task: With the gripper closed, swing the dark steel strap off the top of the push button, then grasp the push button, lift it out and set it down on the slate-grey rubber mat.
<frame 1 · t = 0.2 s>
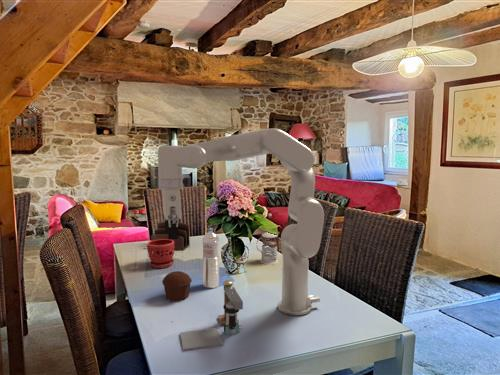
hand: (171, 235, 127), 31 cm above the table, tool pointing down, fingers open, 9 cm apart
rubber mat: (201, 339, 121), on the table
push button: (233, 332, 126), on the table
water bottle: (211, 286, 165), on the table
plant pot: (161, 265, 191), on the table
letter holder: (170, 247, 223), on the table
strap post: (228, 320, 133), on the table
steel strap: (232, 294, 125), point 12 cm above the table, hinge at 0.0°
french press: (267, 261, 198), on the table
muffin: (177, 297, 153), on the table
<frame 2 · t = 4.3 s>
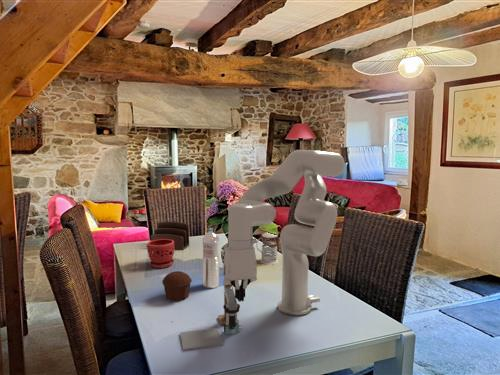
hand: (240, 299, 122), 12 cm above the table, tool pointing down, fingers closed
steel strap: (230, 294, 125), point 12 cm above the table, hinge at 7.3°, touching gripper
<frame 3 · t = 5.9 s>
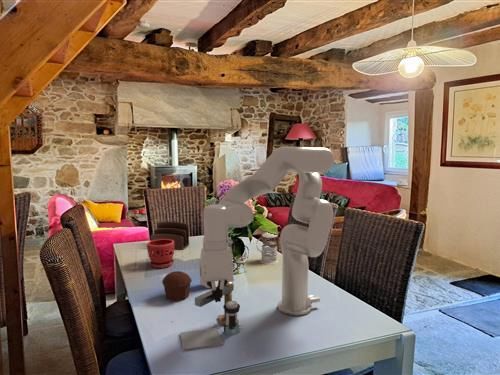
hand: (217, 300, 123), 12 cm above the table, tool pointing down, fingers closed
steel strap: (215, 292, 126), point 12 cm above the table, hinge at 52.0°, touching gripper
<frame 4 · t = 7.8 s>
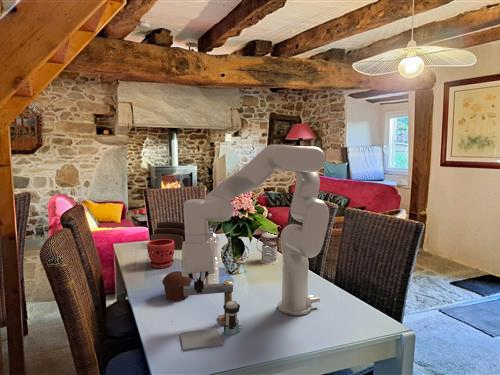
hand: (199, 291, 127), 13 cm above the table, tool pointing down, fingers closed
steel strap: (208, 287, 130), point 12 cm above the table, hinge at 93.7°
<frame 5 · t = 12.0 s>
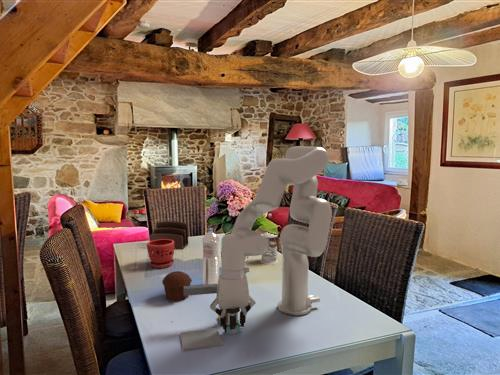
hand: (232, 325, 125), 2 cm above the table, tool pointing down, fingers closed on push button, 5 cm apart
push button: (234, 332, 126), on the table, touching gripper
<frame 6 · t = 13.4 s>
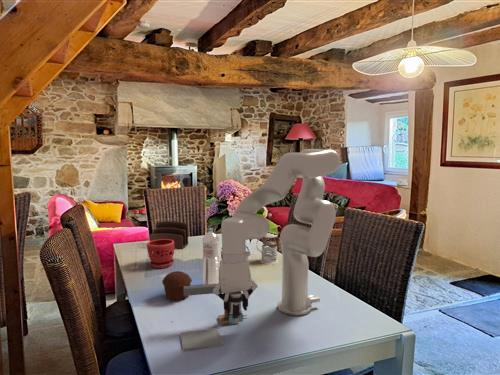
hand: (236, 309, 125), 7 cm above the table, tool pointing down, fingers closed on push button, 5 cm apart
push button: (237, 321, 126), point 3 cm above the table, touching gripper
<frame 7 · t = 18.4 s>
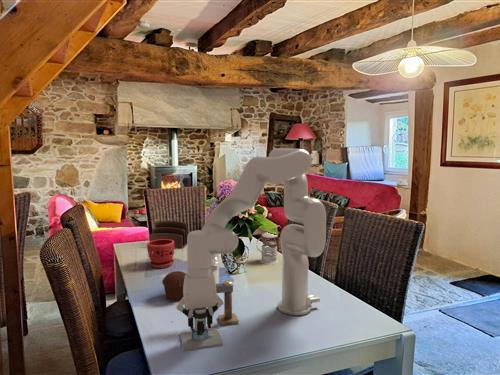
hand: (200, 326, 120), 4 cm above the table, tool pointing down, fingers closed on push button, 4 cm apart
push button: (202, 338, 120), resting on rubber mat, touching gripper
when the fingers open (4 cm above the table, at t = 18.5 s): push button stays where it is, resting on rubber mat.
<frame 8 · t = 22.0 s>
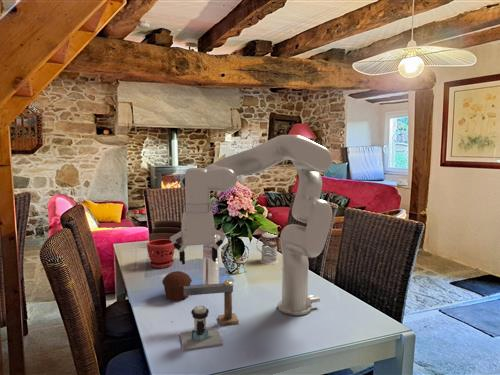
hand: (198, 261, 120), 24 cm above the table, tool pointing down, fingers open, 9 cm apart
push button: (202, 338, 121), resting on rubber mat
at the end: steel strap at +94° (first picture: +0°); push button inside the target area on the rubber mat (0.5 cm from its centre), point 0.4 cm above the rubber mat's base; push button tilted 0° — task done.
